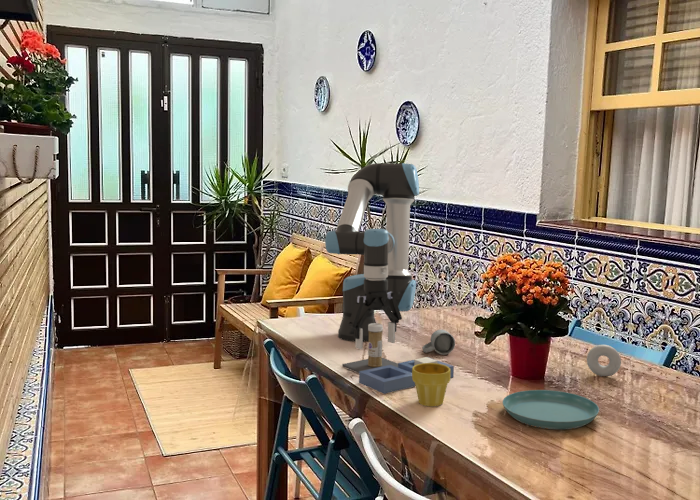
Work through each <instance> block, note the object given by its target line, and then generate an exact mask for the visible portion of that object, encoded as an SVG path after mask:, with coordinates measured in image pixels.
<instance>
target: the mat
mask: <svg viewBox="0 0 700 500" xmlns="http://www.w3.org/2000/svg"><path fill="white" fill-rule="evenodd" d="M398 363H399V362H395V361H393V360H390V359H387V358H385V357H382V366H380V367H383V366H387V365H393V366H395V367H398ZM341 366H342V368H345V369H348V370H350V371H352V372H355V373H357V374H359V371H364V370H369V369H373V368H378V367H370V366H368V358H366V359H365V358H364V359H361V360H356V361H351V362H346V363H342V365H341Z"/></svg>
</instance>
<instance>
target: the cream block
mask: <svg viewBox="0 0 700 500" xmlns="http://www.w3.org/2000/svg"><path fill="white" fill-rule="evenodd" d="M428 357H429V356H426V357H420V358H416V359H413V360H414V366H415V365H417V364H422V363H437V360H438V359H435V360H434V358H432V357H429V358H428ZM431 358H432V359H431Z"/></svg>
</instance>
